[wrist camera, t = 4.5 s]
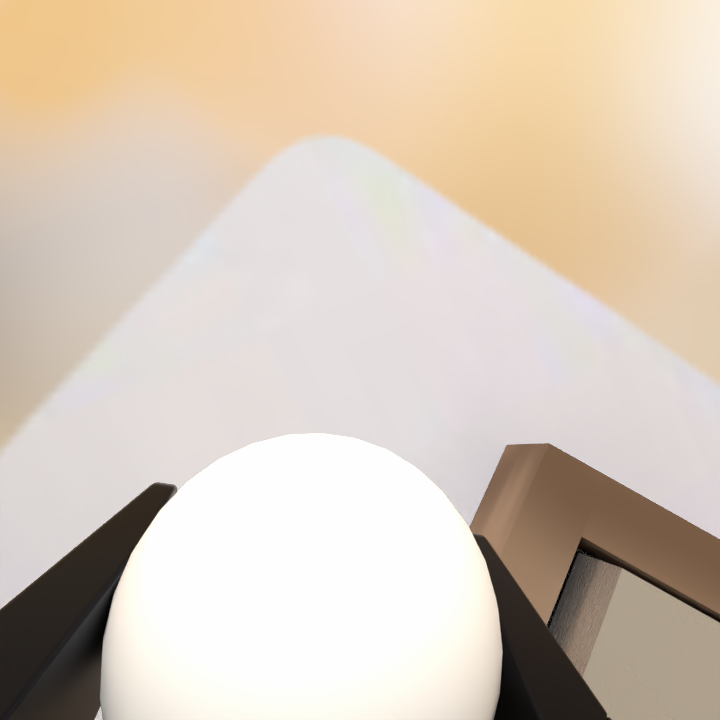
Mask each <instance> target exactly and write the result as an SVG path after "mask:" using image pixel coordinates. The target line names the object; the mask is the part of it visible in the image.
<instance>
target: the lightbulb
mask: <svg viewBox="0 0 720 720" xmlns="http://www.w3.org/2000/svg"><path fill="white" fill-rule="evenodd" d="M502 654H503V651H502V641H501V631H500V622H499V612H498V606H497V601H496V596H495V593H494V589H493V586H492V582H491V579H490V575H489V572H488V568H487V564H486V561H485V559H484V557H483V555H482V553H481V551H480V549H479V547H478V545H477V543H476V541H475V538H474V536H473V534H472V532H471V530H470V528H469V527H468V525H467V524H466V523H465V521H464V520H463V518H462V517H461V516H460V514H459V513H458V512H457V510H456V509H455V508H454V506H453V505H452V504H451V502H450V501H449V500H448V498H447V497H446V496H445V494H444V493H443V492H442V490H440V489H439V488H438V487H437V486H436V485H435V484H434V483H433V482H432V481H431V480H430V479H428V478H427V477H426V476H425V475H424V474H423V473H422V472H421V471H420V470H419V469H418V468H416V467H415V466H413V465H411V464H410V463H408V462H407V461H405V460H403V459H402V458H400V457H398V456H397V455H395V454H393V453H392V452H390V451H388V450H386V449H384V448H381V447H378V446H375V445H373V444H370V443H367V442H364V441H362V440H359V439H356V438H350V437H343V436H337V435H330V434H323V433H317V434H297V435H285V436H281V437H277V438H273V439H269V440H265V441H261V442H257V443H253V444H250V445H248V446H246V447H244V448H242V449H240V450H238V451H235V452H233V453H231V454H229V455H227V456H225V457H222V458H220V459H218V460H217V461H216V462H214V463H213V464H211V465H210V466H209V467H207V468H206V469H204V470H203V471H202V472H200V473H199V474H197V475H196V476H195V477H193V478H192V479H190V480H189V481H188V482H187V483H186V484H185V485H184V486H183V487H182V488H181V489H180V490H179V491H178V492H177V493H176V494H175V495H174V496H173V497H172V498H171V499H170V500H169V501H168V502H167V503H166V504H165V505H164V506H163V507H162V508H161V510H160V511H159V512H158V514H157V515H156V517H155V518H154V520H153V521H152V523H151V524H150V526H149V527H148V529H147V530H146V532H145V533H144V535H143V536H142V538H141V539H140V541H139V542H138V544H137V545H136V547H135V549H134V550H133V552H132V553H131V556H130V558H129V560H128V562H127V565H126V567H125V569H124V572H123V574H122V576H121V578H120V581H119V583H118V585H117V588H116V590H115V592H114V595H113V599H112V603H111V607H110V612H109V616H108V620H107V624H106V629H105V633H104V637H103V648H102V667H101V687H100V703H101V710H102V717H103V720H494V716H495V712H496V708H497V703H498V699H499V695H500V684H501V669H502Z"/></svg>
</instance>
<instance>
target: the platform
mask: <svg viewBox="0 0 720 720" xmlns="http://www.w3.org/2000/svg"><path fill="white" fill-rule="evenodd" d="M549 630H550V631H551V633H552V634H553V635H554V637H555V638H556V640H557V641H558V643H559V644H560V646H561V647H562V648H563V650H564V651H565V653H566V654H567V656H568V657H569V659H570V660H571V661H572V663H573V664H574V666H575V667H576V669H577V670H578V672H579V673H580V675H581V676H582V677H583V679H584V680H585V682H586V683H587V685H588V686H589V688H590V689H591V690H592V692H593V693H594V695H595V696H596V698H597V699H598V701H599V702H600V703H601V705H602V706H603V708H604V709H605V711H606V712H607V717H610V718H611V719H612V720H720V623H719V622H717V621H716V620H714V619H712V618H710V617H708V616H707V615H705V614H703V613H701V612H700V611H698V610H696V609H694V608H692V607H691V606H689V605H687V604H685V603H683V602H682V601H680V600H678V599H676V598H675V597H673V596H671V595H669V594H667V593H666V592H664V591H662V590H660V589H658V588H657V587H655V586H653V585H651V584H650V583H648V582H646V581H644V580H642V579H641V578H639V577H637V576H635V575H633V574H632V573H630V572H628V571H626V570H624V569H623V568H620V567H617V566H615V565H612V564H609V563H606V562H604V561H601V560H598V559H595V558H593V557H590V556H587V555H584V554H582V553H578V555H577V558H576V560H575V563H574V566H573V568H572V571H571V573H570V576H569V578H568V581H567V583H566V586H565V589H564V591H563V594H562V596H561V599H560V601H559V604H558V606H557V609H556V612H555V614H554V617H553V619H552V622H551V624H550V627H549Z"/></svg>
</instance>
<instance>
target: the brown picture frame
mask: <svg viewBox="0 0 720 720" xmlns="http://www.w3.org/2000/svg"><path fill="white" fill-rule="evenodd" d="M470 530H471V532H472V533H476V534H481V535H483V536H484V537H486V539H487V540H488V541H489V543H490V544H491V546H492V547H493V549H494V550H495V551H496V553H497V554H498V556H499V557H500V559H501V560H502V562H503V563H504V565H505V566H506V567H507V569H508V570H509V572H510V573H511V575H512V576H513V578H514V579H515V580H516V582H517V583H518V585H519V586H520V588H521V589H522V591H523V592H524V593H525V595H526V596H527V598H528V599H529V601H530V602H531V604H532V605H533V606H534V608H535V609H536V611H537V612H538V614H539V615H540V617H541V618H542V620H543V621H544V622H545V624H546V625H547V624H548V621H549V618H550V616H551V613H552V611H553V608H554V606H555V603H556V601H557V598H558V596H559V593H560V590H561V588H562V585H563V583H564V580H565V578H566V575H567V573H568V570H569V568H570V565H571V562H572V560H573V557H574V555H575V552H576V550H577V547H579V548H581V549H582V550H584V551H586V552H588V553H589V554H591V555H593V556H595V557H597V558H598V559H600V560H602V561H604V562H606V563H609V564H612V565H615V566H617V567H620V568H623V569H624V570H626V571H628V572H630V573H632V574H633V575H635V576H637V577H639V578H641V579H642V580H644V581H646V582H648V583H650V584H651V585H653V586H655V587H657V588H658V589H660V590H662V591H664V592H666V593H667V594H669V595H671V596H673V597H675V598H676V599H678V600H680V601H682V602H683V603H685V604H687V605H689V606H691V607H692V608H694V609H696V610H698V611H700V612H701V613H703V614H705V615H707V616H708V617H710V618H712V619H714V620H716V621H717V622H719V623H720V539H718V538H716V537H715V536H713V535H711V534H709V533H707V532H706V531H704V530H702V529H700V528H699V527H697V526H695V525H693V524H691V523H690V522H688V521H686V520H684V519H683V518H681V517H679V516H677V515H675V514H674V513H672V512H670V511H668V510H666V509H665V508H663V507H661V506H659V505H658V504H656V503H654V502H652V501H650V500H649V499H647V498H645V497H643V496H642V495H640V494H638V493H636V492H634V491H633V490H631V489H629V488H627V487H626V486H624V485H622V484H620V483H618V482H617V481H615V480H613V479H611V478H610V477H608V476H606V475H604V474H602V473H601V472H599V471H597V470H595V469H594V468H592V467H590V466H588V465H586V464H585V463H583V462H581V461H579V460H578V459H576V458H574V457H572V456H570V455H569V454H567V453H565V452H563V451H562V450H560V449H558V448H556V447H554V446H553V445H551V444H549V443H546V444H517V445H507V446H506V448H505V450H504V453H503V455H502V457H501V459H500V461H499V464H498V466H497V468H496V470H495V472H494V475H493V477H492V479H491V481H490V483H489V486H488V488H487V490H486V492H485V495H484V497H483V499H482V501H481V503H480V506H479V508H478V510H477V512H476V514H475V517H474V519H473V521H472V523H471V525H470Z"/></svg>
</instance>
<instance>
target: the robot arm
mask: <svg viewBox="0 0 720 720" xmlns="http://www.w3.org/2000/svg"><path fill="white" fill-rule="evenodd" d="M176 493H177V487H176V486H175V485H172V484H166V483H160V482H157V483H154V484H152V485H151V486H149V487H148V488H147V489H146V490H145V491H143V492H142V493H141V494H140V495H139V496H137V497H136V498H135V499H134V500H132V501H131V502H130V503H129V504H128V505H126V506H125V507H124V508H123V509H122V510H120V511H119V512H118V513H117V514H116V515H114V516H113V517H112V518H111V519H109V520H108V521H107V522H106V523H105V524H103V525H102V526H101V527H100V528H99V529H97V530H96V531H95V532H94V533H92V534H91V535H90V536H89V537H88V538H86V539H85V540H84V541H83V542H82V543H80V544H79V545H78V546H77V547H75V548H74V549H73V550H72V551H71V552H69V553H68V554H67V555H66V556H65V557H63V558H62V559H61V560H60V561H58V562H57V563H56V564H55V565H54V566H52V567H51V568H50V569H49V570H48V571H46V572H45V573H44V574H43V575H42V576H40V577H39V578H38V579H37V580H35V581H34V582H33V583H32V584H31V585H29V586H28V587H27V588H26V589H25V590H23V591H22V592H21V593H20V594H18V595H17V596H16V597H15V598H14V599H12V600H11V601H10V602H9V603H8V604H6V605H5V606H4V607H3V608H1V609H0V720H94V719H95V717H96V715H97V713H98V710H99V708H100V706H101V703H100V687H101V667H102V648H103V637H104V633H105V629H106V624H107V620H108V616H109V612H110V607H111V603H112V599H113V595H114V592H115V590H116V588H117V585H118V583H119V581H120V578H121V576H122V574H123V572H124V569H125V567H126V565H127V562H128V560H129V558H130V556H131V553H132V552H133V550H134V549H135V547H136V545H137V544H138V542H139V541H140V539H141V538H142V536H143V535H144V533H145V532H146V530H147V529H148V527H149V526H150V524H151V523H152V521H153V520H154V518H155V517H156V515H157V514H158V512H159V511H160V510H161V508H162V507H163V506H164V505H165V504H166V503H167V502H168V501H169V500H170V499H171V498H172V497H173V496H174V495H175V494H176ZM472 534H473V536H474V538H475V541H476V543H477V545H478V547H479V549H480V551H481V553H482V555H483V557H484V559H485V561H486V564H487V568H488V572H489V575H490V579H491V582H492V586H493V589H494V593H495V596H496V601H497V606H498V612H499V622H500V631H501V641H502V651H503V654H502V669H501V684H500V695H499V699H498V703H497V708H496V712H495V716H494V720H612V719H611V718H610V717H607V712H606V711H605V709H604V708H603V706H602V705H601V703H600V702H599V701H598V699H597V698H596V696H595V695H594V693H593V692H592V690H591V689H590V688H589V686H588V685H587V683H586V682H585V680H584V679H583V677H582V676H581V675H580V673H579V672H578V670H577V669H576V667H575V666H574V664H573V663H572V661H571V660H570V659H569V657H568V656H567V654H566V653H565V651H564V650H563V648H562V647H561V646H560V644H559V643H558V641H557V640H556V638H555V637H554V635H553V634H552V633H551V631H550V630H549V628H548V627H547V625H546V624H545V622H544V621H543V620H542V618H541V617H540V615H539V614H538V612H537V611H536V609H535V608H534V606H533V605H532V604H531V602H530V601H529V599H528V598H527V596H526V595H525V593H524V592H523V591H522V589H521V588H520V586H519V585H518V583H517V582H516V580H515V579H514V578H513V576H512V575H511V573H510V572H509V570H508V569H507V567H506V566H505V565H504V563H503V562H502V560H501V559H500V557H499V556H498V554H497V553H496V551H495V550H494V549H493V547H492V546H491V544H490V543H489V541H488V540H487V539H486V537H484V536H483V535H481V534H476V533H472Z"/></svg>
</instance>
